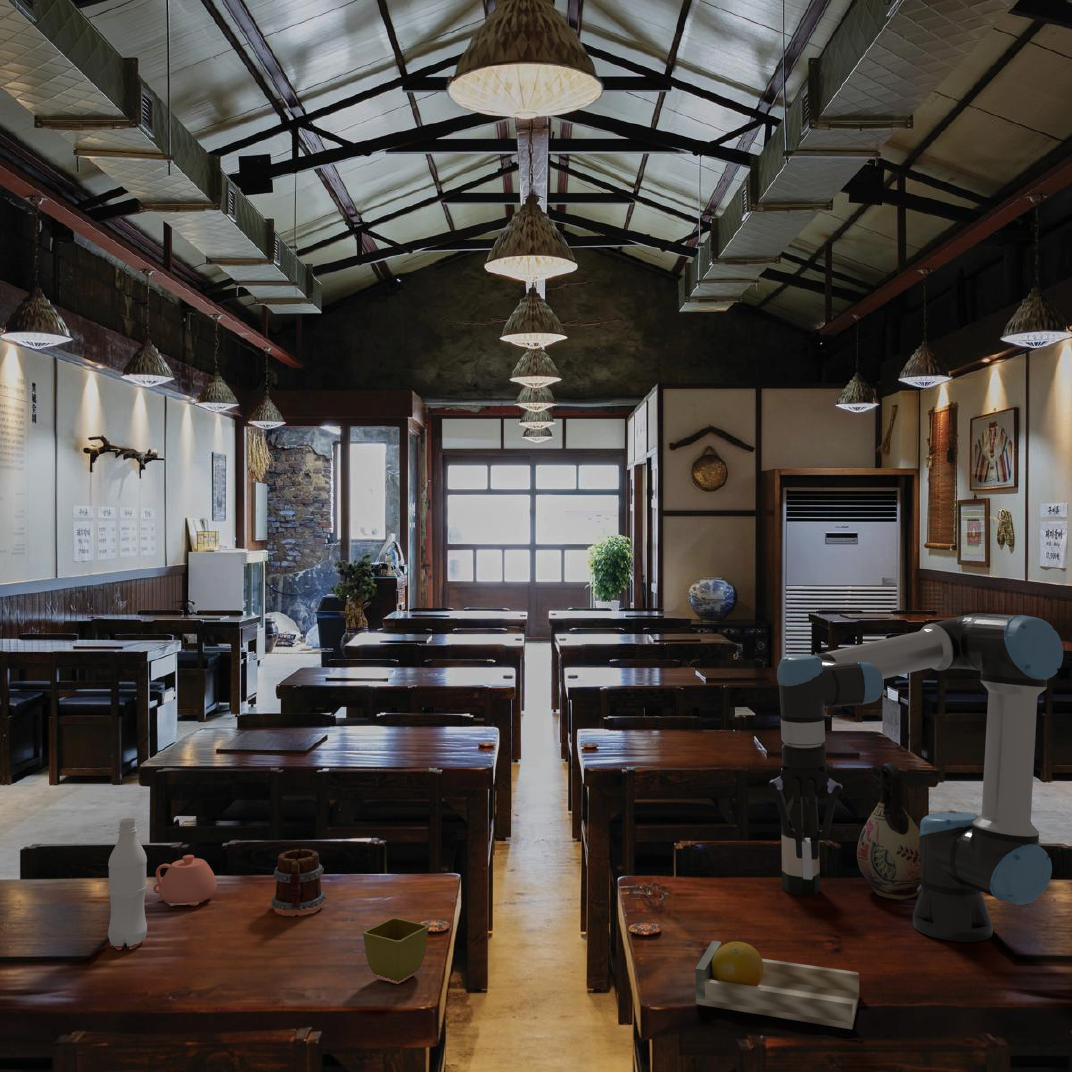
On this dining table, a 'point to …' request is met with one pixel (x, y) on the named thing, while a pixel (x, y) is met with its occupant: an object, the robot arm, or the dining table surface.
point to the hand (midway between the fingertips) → (808, 876)
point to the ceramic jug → (890, 841)
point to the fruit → (737, 964)
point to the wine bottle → (794, 865)
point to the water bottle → (127, 887)
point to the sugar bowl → (186, 881)
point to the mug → (298, 880)
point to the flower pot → (396, 948)
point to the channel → (784, 992)
